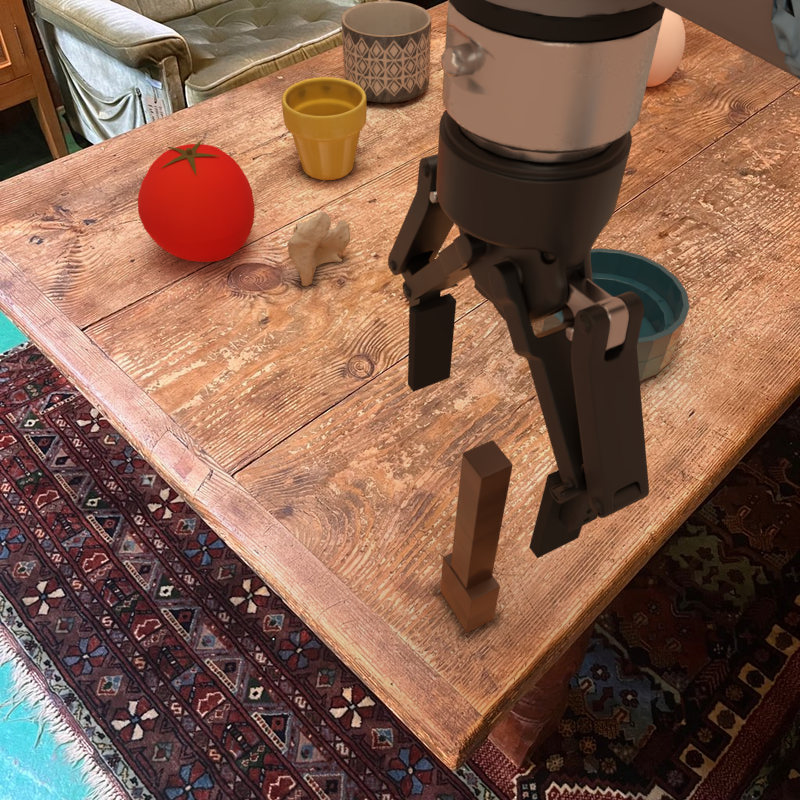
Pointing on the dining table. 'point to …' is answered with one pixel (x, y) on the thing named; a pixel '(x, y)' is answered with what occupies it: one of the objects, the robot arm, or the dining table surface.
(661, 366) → the bowl
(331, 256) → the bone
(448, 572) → the stirring stick
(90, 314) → the dining table surface
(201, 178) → the tomato
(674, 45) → the egg
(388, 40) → the planter
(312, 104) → the flower pot
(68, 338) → the dining table surface
